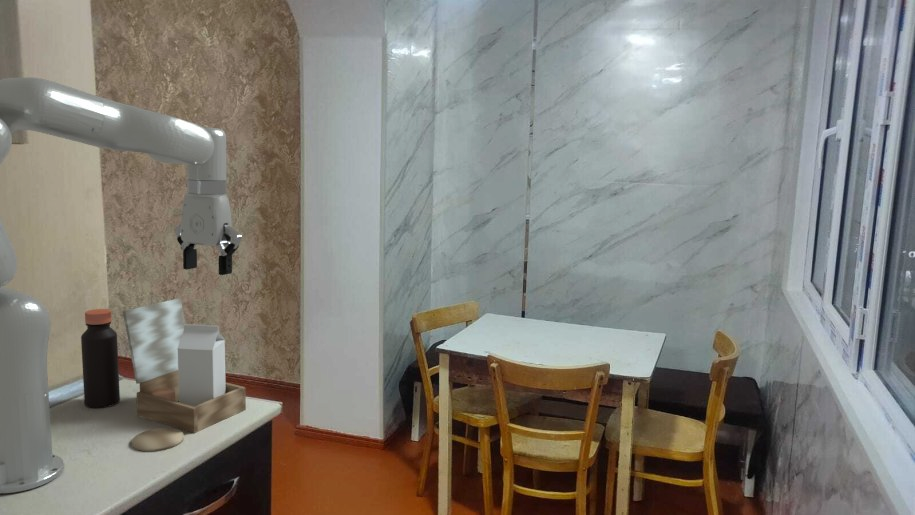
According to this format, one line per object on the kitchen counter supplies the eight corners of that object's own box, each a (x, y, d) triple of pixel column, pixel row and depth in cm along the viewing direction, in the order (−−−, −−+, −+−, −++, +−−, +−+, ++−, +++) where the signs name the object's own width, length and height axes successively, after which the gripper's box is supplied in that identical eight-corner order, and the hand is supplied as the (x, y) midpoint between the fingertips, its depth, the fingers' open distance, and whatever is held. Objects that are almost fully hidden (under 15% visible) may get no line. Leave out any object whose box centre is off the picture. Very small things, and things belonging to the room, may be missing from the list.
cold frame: (194, 433, 136) (191, 325, 133) (127, 412, 145) (122, 310, 141) (245, 409, 149) (244, 310, 145) (181, 392, 157) (178, 297, 153)
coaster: (155, 455, 126) (155, 452, 126) (121, 444, 130) (120, 441, 130) (193, 437, 134) (193, 434, 134) (160, 427, 138) (160, 424, 138)
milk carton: (214, 420, 143) (212, 330, 139) (179, 419, 143) (176, 329, 139) (226, 407, 150) (224, 321, 146) (193, 406, 150) (190, 319, 146)
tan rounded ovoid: (163, 420, 142) (162, 396, 141) (147, 415, 144) (147, 392, 143) (180, 412, 146) (179, 390, 145) (165, 408, 148) (164, 386, 147)
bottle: (110, 409, 146) (106, 316, 143) (78, 408, 146) (72, 315, 143) (125, 397, 153) (122, 308, 149) (94, 396, 153) (90, 307, 149)
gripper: (161, 186, 143) (162, 268, 146) (226, 192, 136) (226, 279, 138) (189, 185, 150) (190, 264, 152) (252, 191, 142) (252, 273, 145)
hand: (207, 271), depth 145 cm, fingers open, 9 cm apart
